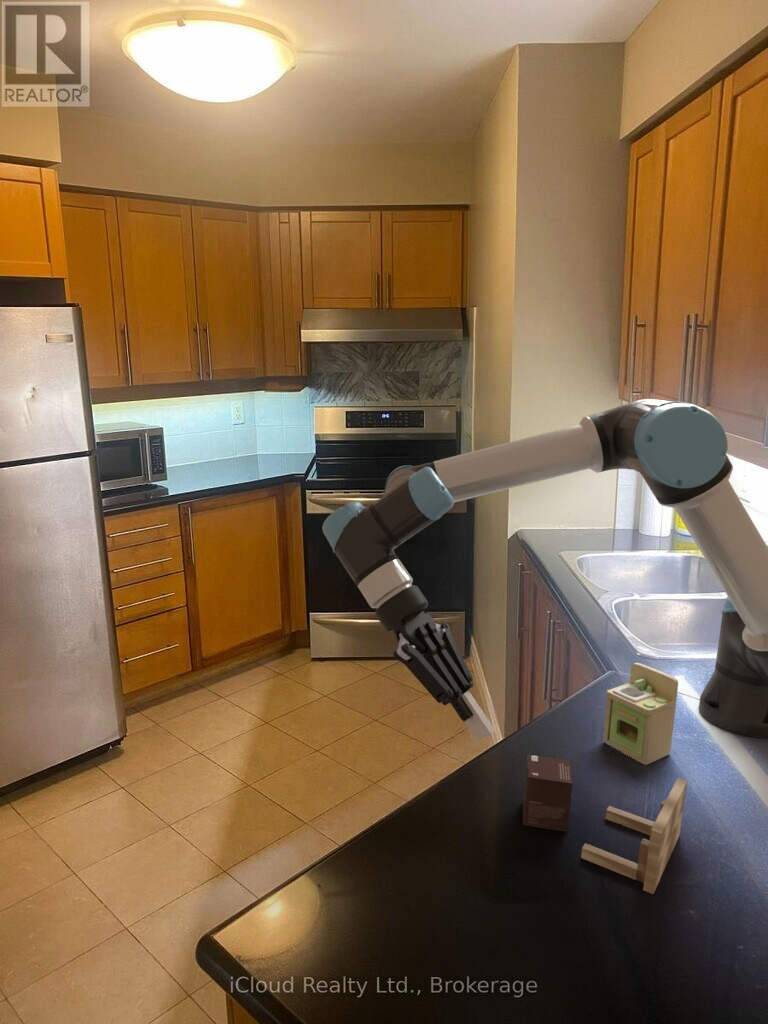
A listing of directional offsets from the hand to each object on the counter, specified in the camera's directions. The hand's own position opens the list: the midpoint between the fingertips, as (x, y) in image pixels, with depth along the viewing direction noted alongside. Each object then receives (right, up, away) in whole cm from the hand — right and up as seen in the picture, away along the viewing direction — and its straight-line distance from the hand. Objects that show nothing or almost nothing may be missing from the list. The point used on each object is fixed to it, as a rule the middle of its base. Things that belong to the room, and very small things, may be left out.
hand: (486, 735), depth 105 cm
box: (+8, -10, -3) cm, 13 cm away
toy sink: (+27, -7, +17) cm, 32 cm away
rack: (+17, -12, -9) cm, 22 cm away
